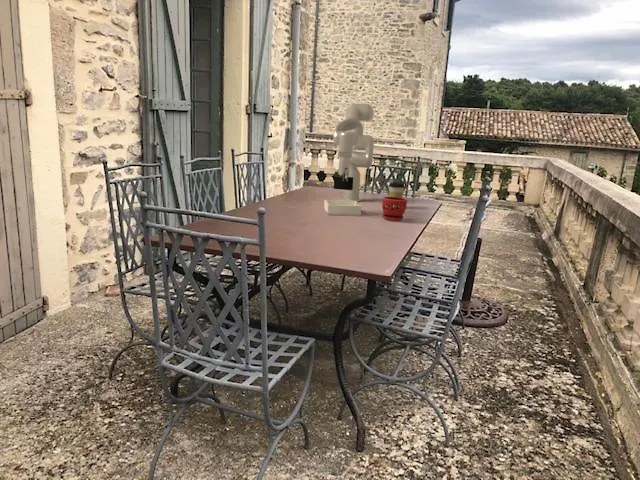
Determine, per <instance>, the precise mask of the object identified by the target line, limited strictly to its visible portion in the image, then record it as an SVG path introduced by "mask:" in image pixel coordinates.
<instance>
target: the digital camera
mask: <svg viewBox="0 0 640 480" xmlns="http://www.w3.org/2000/svg"><path fill="white" fill-rule="evenodd" d="M333 178H334V179H333V190H344V191H345V190H352V189H353V177H348V185H347V188H342V181H343V178H342V176H340V175H335V176H334V177H333Z"/></svg>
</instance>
